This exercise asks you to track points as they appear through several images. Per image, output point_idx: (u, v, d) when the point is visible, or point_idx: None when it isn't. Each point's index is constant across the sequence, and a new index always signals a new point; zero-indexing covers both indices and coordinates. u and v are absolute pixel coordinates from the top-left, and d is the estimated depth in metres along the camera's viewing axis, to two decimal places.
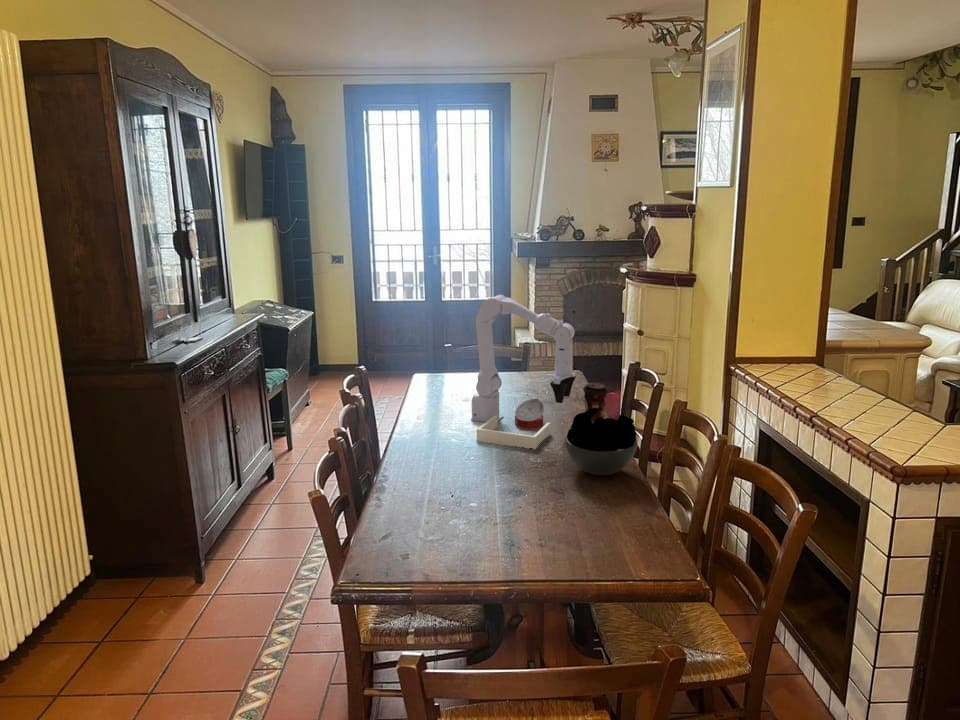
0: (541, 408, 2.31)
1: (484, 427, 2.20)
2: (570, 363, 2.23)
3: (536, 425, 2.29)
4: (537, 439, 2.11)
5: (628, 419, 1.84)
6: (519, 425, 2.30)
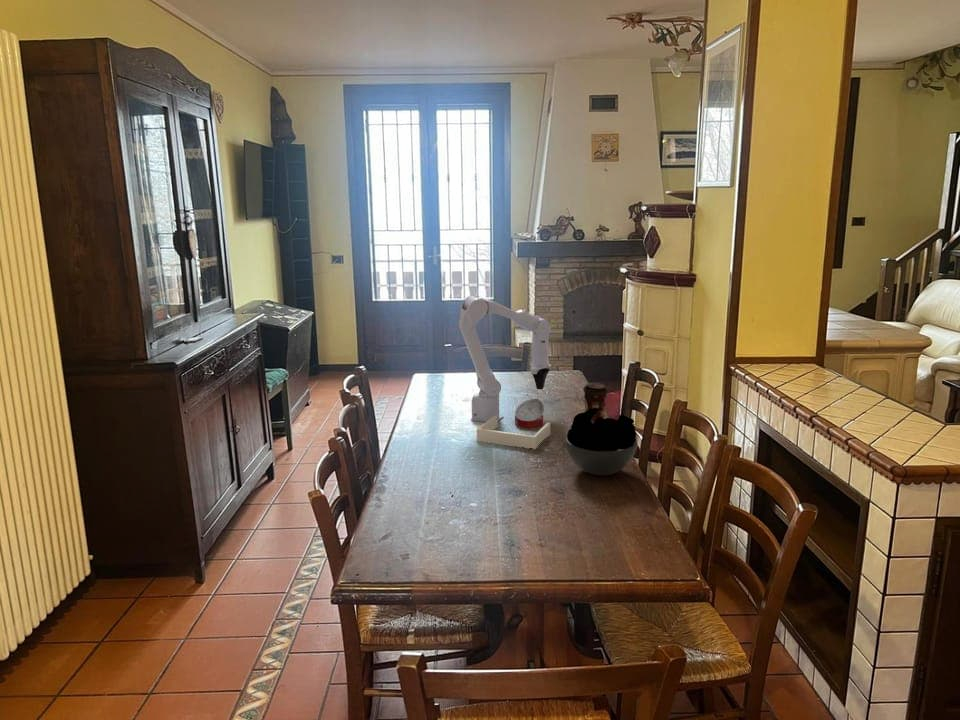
0: (541, 408, 2.31)
1: (484, 427, 2.20)
2: (546, 354, 2.37)
3: (536, 425, 2.29)
4: (537, 439, 2.11)
5: (628, 419, 1.84)
6: (519, 425, 2.30)
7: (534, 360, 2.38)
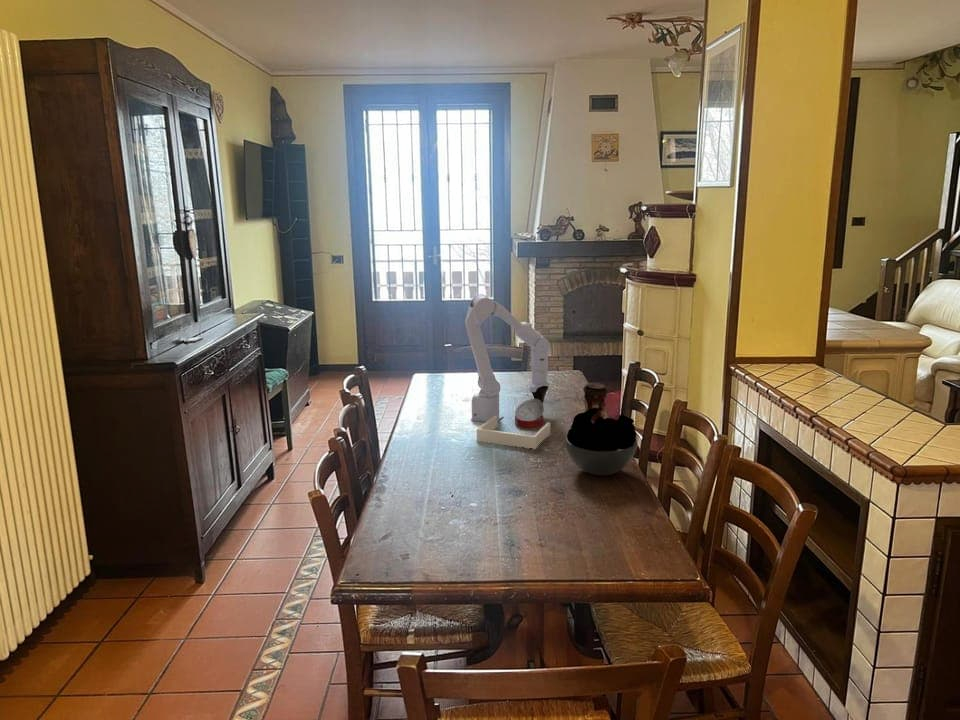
0: (541, 408, 2.31)
1: (484, 427, 2.20)
2: (545, 372, 2.37)
3: (536, 425, 2.29)
4: (537, 439, 2.11)
5: (628, 419, 1.84)
6: (519, 425, 2.30)
7: (533, 378, 2.38)
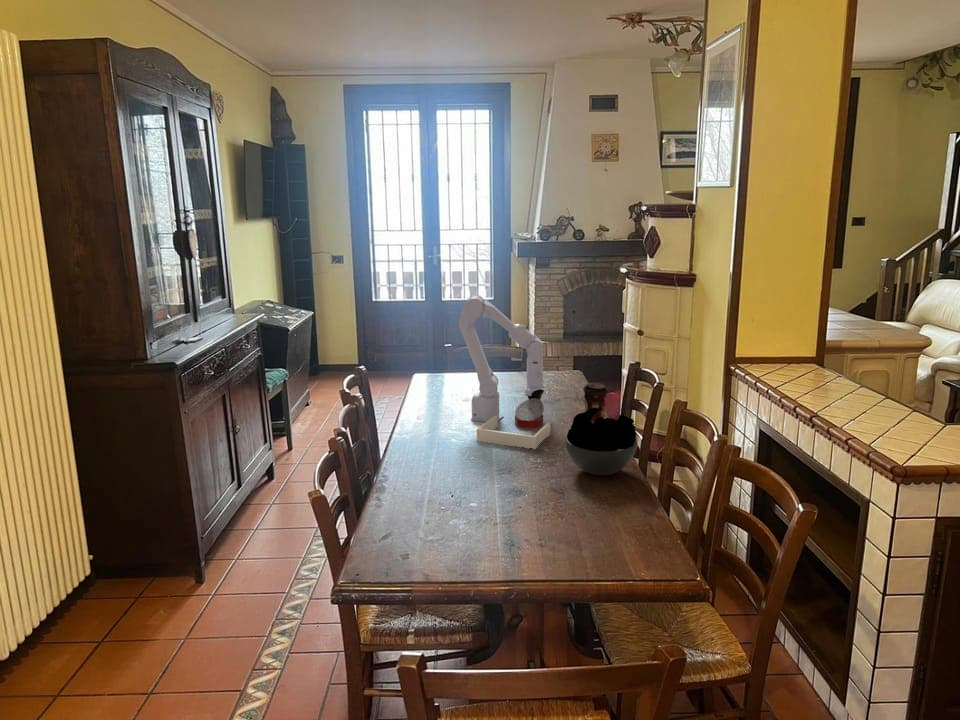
0: (541, 408, 2.31)
1: (484, 427, 2.20)
2: (541, 375, 2.33)
3: (536, 425, 2.29)
4: (537, 439, 2.11)
5: (628, 419, 1.84)
6: (519, 425, 2.30)
7: (528, 381, 2.33)
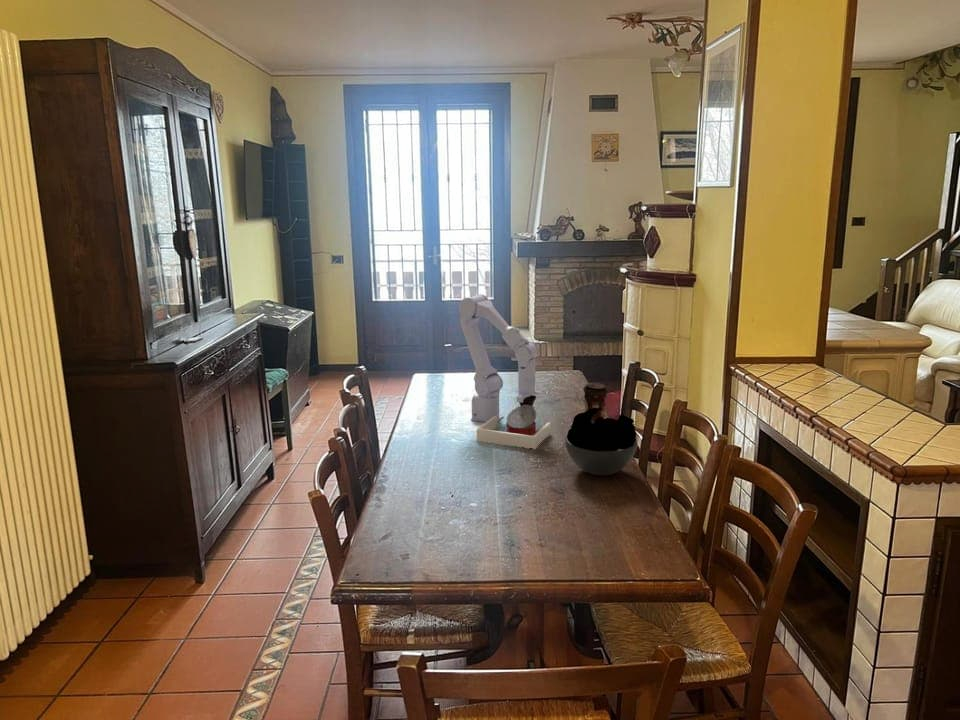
0: (533, 415, 2.24)
1: (484, 427, 2.20)
2: (533, 381, 2.26)
3: (528, 433, 2.22)
4: (537, 439, 2.11)
5: (628, 419, 1.84)
6: (510, 432, 2.23)
7: (520, 387, 2.26)
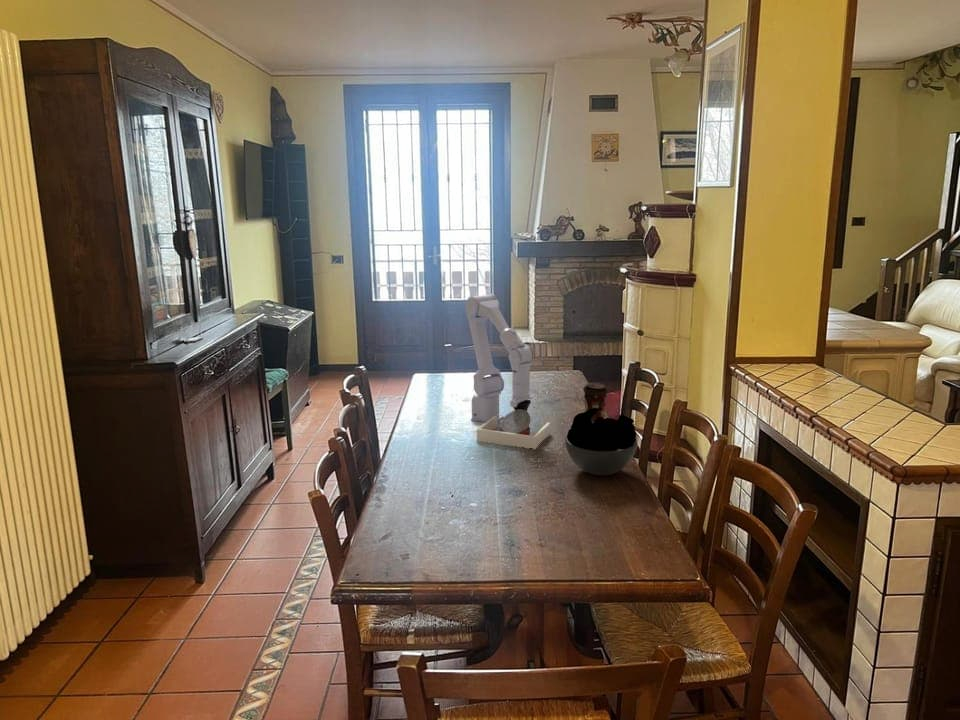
0: (528, 420, 2.19)
1: (484, 427, 2.20)
2: (527, 385, 2.21)
3: None
4: (537, 439, 2.11)
5: (628, 419, 1.84)
6: None
7: (514, 391, 2.21)
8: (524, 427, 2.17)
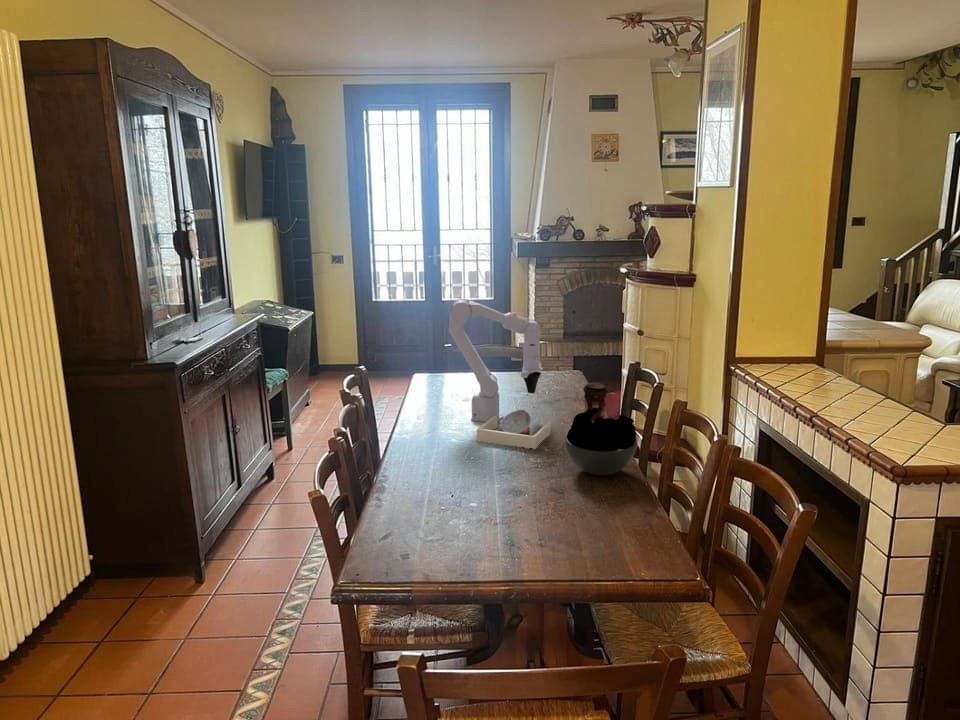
0: (528, 420, 2.19)
1: (484, 427, 2.20)
2: (537, 358, 2.32)
3: None
4: (537, 439, 2.11)
5: (628, 419, 1.84)
6: None
7: (525, 363, 2.33)
8: (524, 428, 2.17)
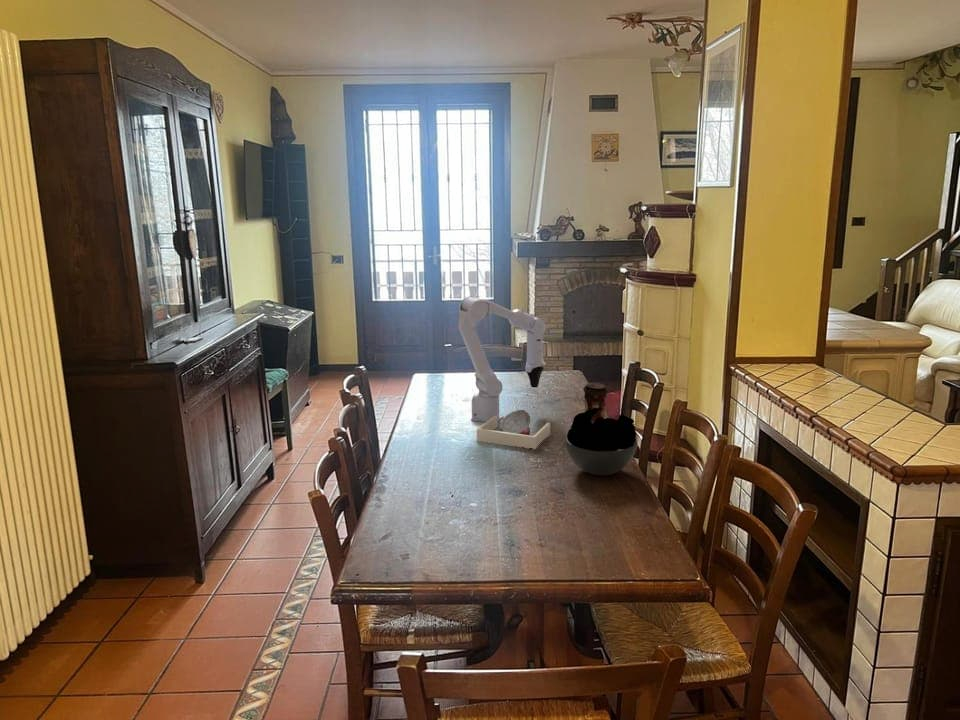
0: (528, 420, 2.19)
1: (484, 427, 2.20)
2: (540, 353, 2.40)
3: None
4: (537, 439, 2.11)
5: (628, 419, 1.84)
6: None
7: (529, 358, 2.41)
8: (524, 427, 2.17)
